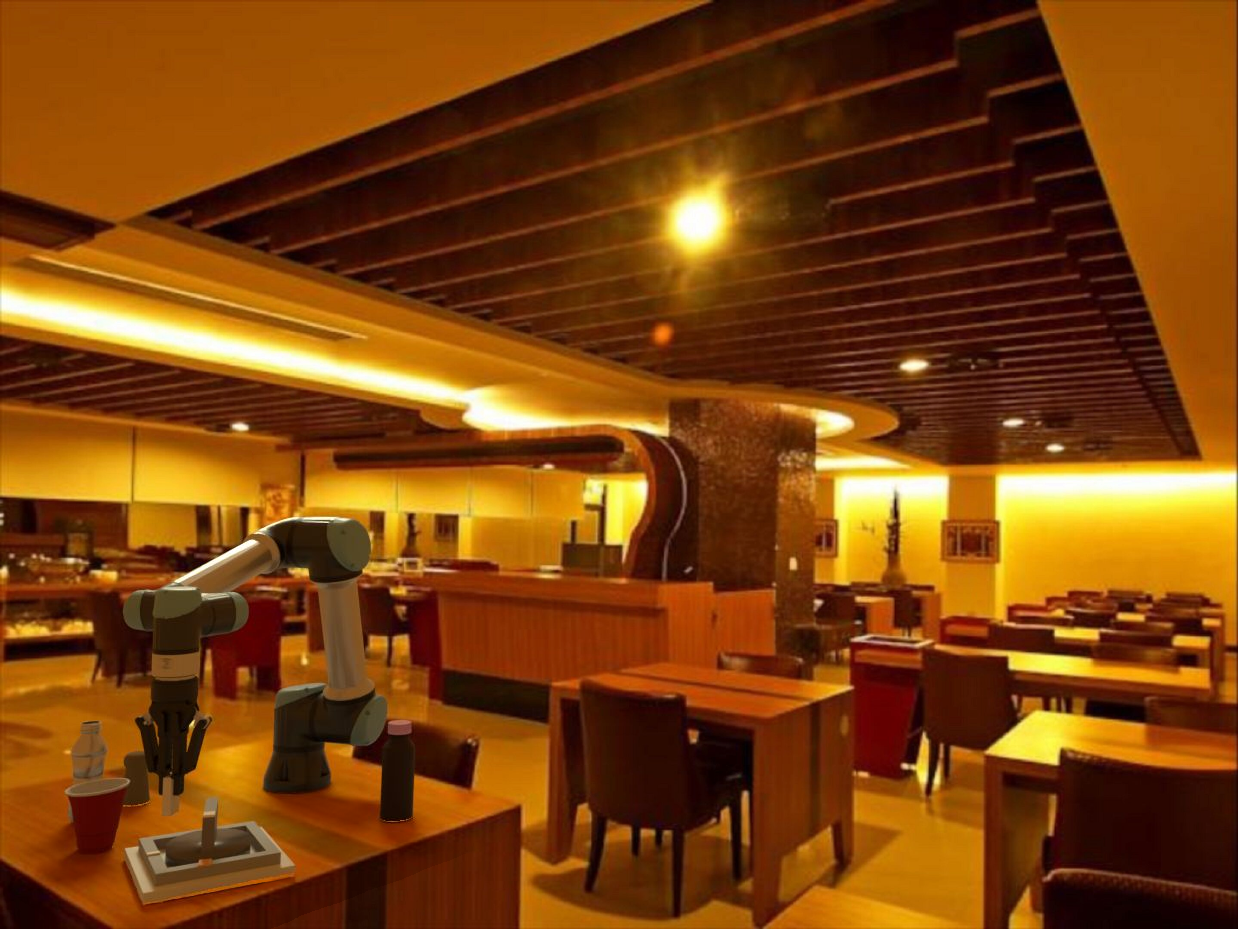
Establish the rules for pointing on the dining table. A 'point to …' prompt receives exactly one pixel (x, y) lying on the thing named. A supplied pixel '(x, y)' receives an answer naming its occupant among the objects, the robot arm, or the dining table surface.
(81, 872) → the dining table surface
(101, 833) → the plastic cup
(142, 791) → the cork
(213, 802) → the oval knob with handle
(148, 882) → the panel
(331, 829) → the dining table surface
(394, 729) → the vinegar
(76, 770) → the plastic bottle
